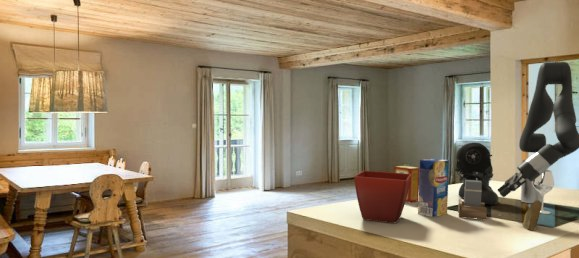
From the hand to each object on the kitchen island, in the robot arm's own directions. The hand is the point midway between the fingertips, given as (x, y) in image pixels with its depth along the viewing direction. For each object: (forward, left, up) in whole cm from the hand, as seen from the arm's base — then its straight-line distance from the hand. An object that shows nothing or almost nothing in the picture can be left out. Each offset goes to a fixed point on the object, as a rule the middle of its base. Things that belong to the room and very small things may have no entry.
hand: (500, 193), depth 177 cm
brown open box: (0, -10, -10) cm, 14 cm away
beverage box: (+4, -25, -10) cm, 27 cm away
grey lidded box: (0, -10, -7) cm, 12 cm away
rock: (+12, +9, -10) cm, 18 cm away
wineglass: (-21, +19, -10) cm, 30 cm away
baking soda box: (-23, -38, -10) cm, 46 cm away
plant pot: (+22, -43, -10) cm, 49 cm away
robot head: (-40, -7, -10) cm, 42 cm away
